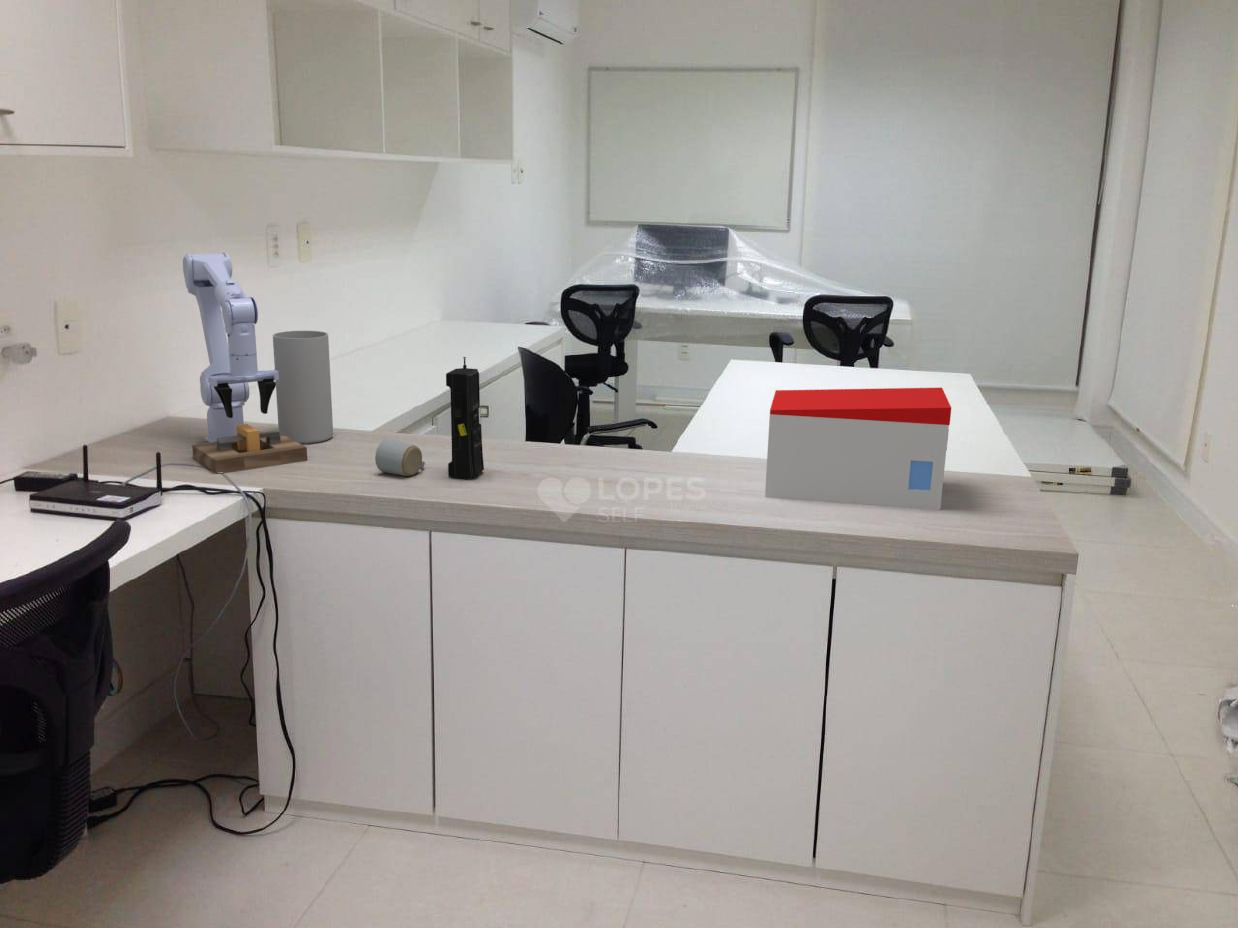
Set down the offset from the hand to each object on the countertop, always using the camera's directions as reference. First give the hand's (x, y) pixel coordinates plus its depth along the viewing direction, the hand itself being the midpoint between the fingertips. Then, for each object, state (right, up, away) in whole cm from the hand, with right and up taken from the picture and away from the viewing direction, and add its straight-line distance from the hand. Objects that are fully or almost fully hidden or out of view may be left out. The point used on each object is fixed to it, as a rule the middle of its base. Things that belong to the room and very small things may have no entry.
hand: (247, 415), depth 241 cm
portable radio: (+49, -13, -7) cm, 51 cm away
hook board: (0, -10, +3) cm, 10 cm away
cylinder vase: (+7, -5, +22) cm, 23 cm away
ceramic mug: (+35, -13, -5) cm, 38 cm away
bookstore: (+131, -16, -11) cm, 132 cm away
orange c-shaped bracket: (0, -8, +3) cm, 9 cm away
